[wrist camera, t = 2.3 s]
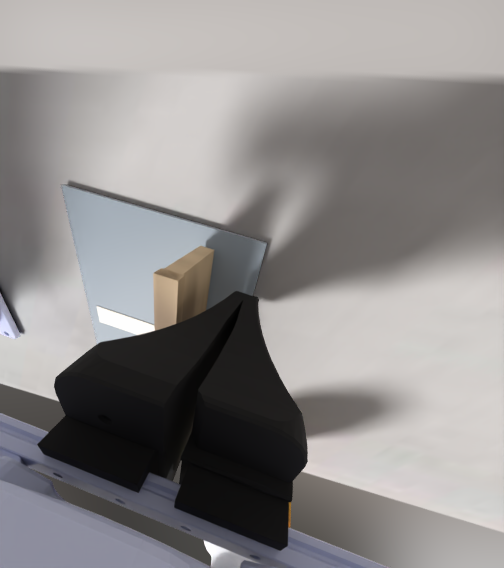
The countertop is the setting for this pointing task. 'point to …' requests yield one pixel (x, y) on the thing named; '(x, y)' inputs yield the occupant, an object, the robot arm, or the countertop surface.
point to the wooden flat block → (182, 288)
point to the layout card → (146, 259)
